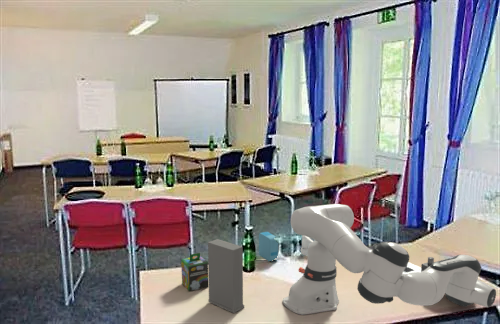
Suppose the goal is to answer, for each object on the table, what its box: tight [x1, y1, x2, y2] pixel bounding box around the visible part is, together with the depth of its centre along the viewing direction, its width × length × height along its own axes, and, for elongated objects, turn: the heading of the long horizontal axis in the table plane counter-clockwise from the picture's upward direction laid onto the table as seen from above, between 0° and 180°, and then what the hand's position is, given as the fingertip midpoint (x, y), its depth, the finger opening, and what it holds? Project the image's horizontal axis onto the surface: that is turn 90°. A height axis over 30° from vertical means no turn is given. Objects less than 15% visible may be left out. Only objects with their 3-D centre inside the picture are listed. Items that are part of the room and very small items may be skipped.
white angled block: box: [300, 235, 314, 257], centre depth 238 cm, size 4×10×9 cm
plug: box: [420, 256, 435, 272], centre depth 199 cm, size 5×5×13 cm
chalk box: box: [180, 252, 209, 292], centre depth 201 cm, size 9×9×15 cm
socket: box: [403, 262, 421, 274], centre depth 212 cm, size 16×16×3 cm
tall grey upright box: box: [207, 238, 245, 314], centre depth 182 cm, size 14×6×25 cm, turn 48°
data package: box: [258, 231, 279, 262], centre depth 233 cm, size 12×4×12 cm, turn 27°
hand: (428, 270), depth 199 cm, fingers closed on plug, 5 cm apart
